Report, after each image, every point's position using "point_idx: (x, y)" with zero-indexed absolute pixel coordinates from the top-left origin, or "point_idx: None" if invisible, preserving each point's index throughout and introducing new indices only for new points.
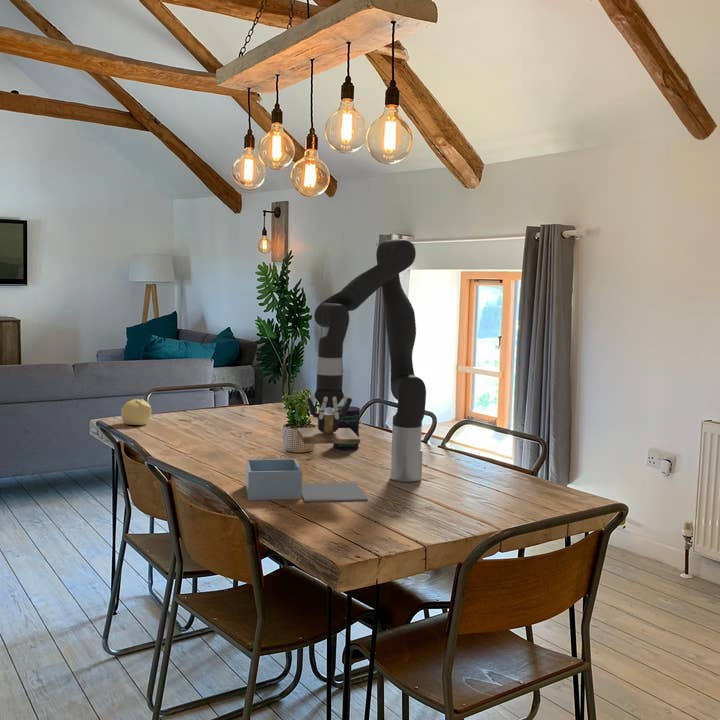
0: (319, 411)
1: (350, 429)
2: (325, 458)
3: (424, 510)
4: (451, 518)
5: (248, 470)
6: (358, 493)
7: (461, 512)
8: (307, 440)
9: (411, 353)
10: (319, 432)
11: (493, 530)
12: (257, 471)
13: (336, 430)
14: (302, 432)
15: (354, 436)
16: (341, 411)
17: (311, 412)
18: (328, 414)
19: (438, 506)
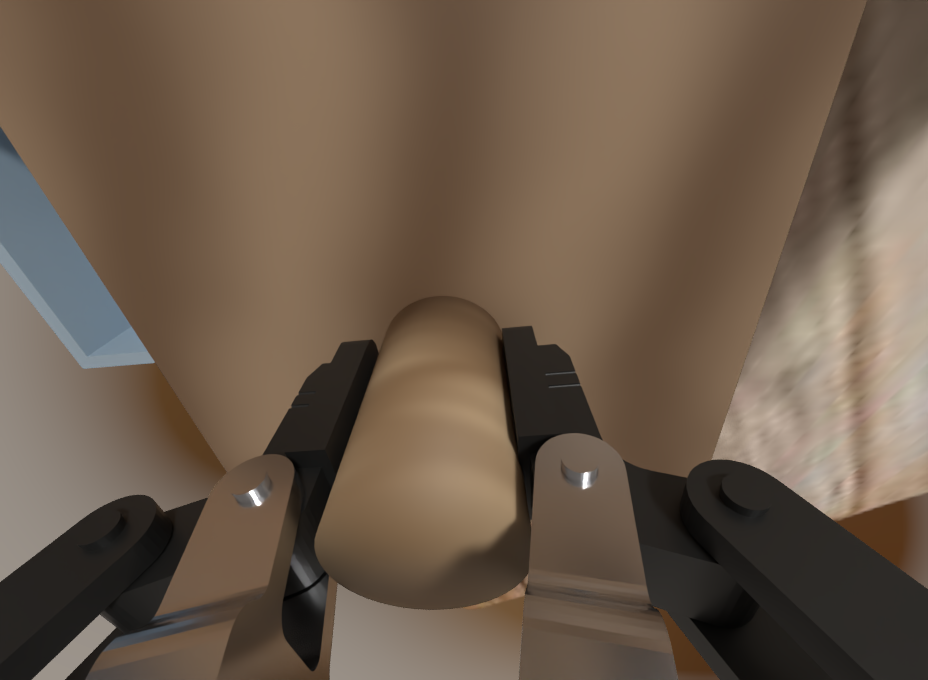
0: (201, 608)
1: (844, 31)
2: None
3: (759, 399)
4: (793, 455)
5: (63, 342)
6: None
7: (864, 415)
8: None
9: None
10: (346, 308)
11: (833, 517)
12: (116, 358)
13: (575, 157)
14: (157, 322)
15: (684, 445)
16: (755, 580)
17: (87, 661)
18: (422, 535)
19: (835, 365)
